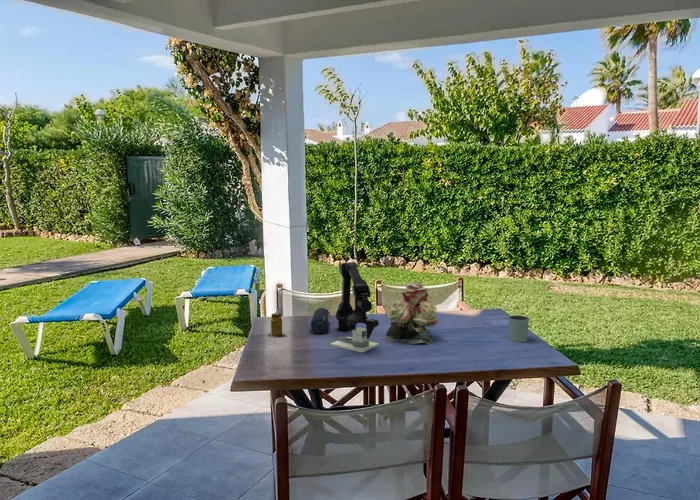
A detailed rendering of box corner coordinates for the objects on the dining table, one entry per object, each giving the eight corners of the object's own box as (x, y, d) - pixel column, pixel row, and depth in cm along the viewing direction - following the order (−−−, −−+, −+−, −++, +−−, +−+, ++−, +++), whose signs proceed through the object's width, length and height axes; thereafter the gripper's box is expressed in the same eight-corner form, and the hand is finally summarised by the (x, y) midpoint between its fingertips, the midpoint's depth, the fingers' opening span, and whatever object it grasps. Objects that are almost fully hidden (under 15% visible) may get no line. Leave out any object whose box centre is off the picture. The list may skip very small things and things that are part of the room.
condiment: (270, 334, 295) (269, 312, 293) (285, 332, 297) (284, 311, 295) (271, 338, 288) (270, 316, 286) (287, 336, 290) (286, 315, 288)
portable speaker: (328, 335, 292) (328, 317, 290) (310, 335, 292) (309, 317, 291) (331, 322, 317) (330, 306, 315) (314, 322, 317) (313, 306, 315)
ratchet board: (330, 345, 275) (330, 333, 274) (347, 338, 285) (347, 327, 285) (361, 352, 262) (361, 340, 261) (378, 345, 273) (378, 334, 272)
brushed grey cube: (352, 341, 271) (352, 329, 270) (359, 338, 275) (359, 327, 274) (361, 343, 267) (361, 331, 266) (369, 340, 272) (369, 329, 271)
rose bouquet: (380, 342, 278) (380, 285, 274) (401, 328, 304) (401, 275, 300) (428, 349, 267) (428, 290, 263) (445, 333, 292) (446, 279, 288)
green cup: (529, 343, 274) (530, 320, 272) (508, 342, 276) (509, 319, 274) (526, 337, 284) (527, 315, 282) (507, 336, 286) (507, 314, 284)
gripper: (335, 307, 268) (336, 338, 270) (365, 313, 257) (366, 345, 259) (349, 303, 277) (350, 332, 279) (379, 308, 265) (379, 339, 267)
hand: (360, 337), depth 271 cm, fingers open, 9 cm apart
